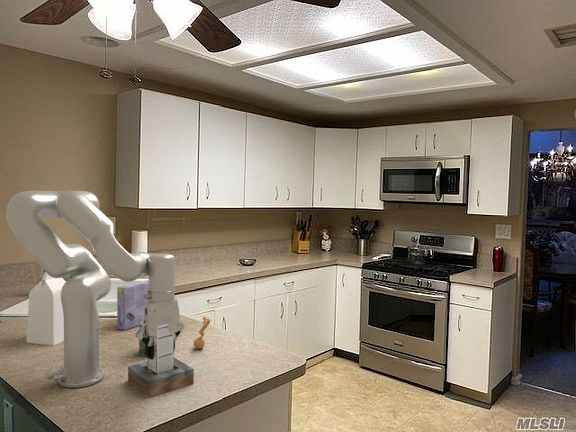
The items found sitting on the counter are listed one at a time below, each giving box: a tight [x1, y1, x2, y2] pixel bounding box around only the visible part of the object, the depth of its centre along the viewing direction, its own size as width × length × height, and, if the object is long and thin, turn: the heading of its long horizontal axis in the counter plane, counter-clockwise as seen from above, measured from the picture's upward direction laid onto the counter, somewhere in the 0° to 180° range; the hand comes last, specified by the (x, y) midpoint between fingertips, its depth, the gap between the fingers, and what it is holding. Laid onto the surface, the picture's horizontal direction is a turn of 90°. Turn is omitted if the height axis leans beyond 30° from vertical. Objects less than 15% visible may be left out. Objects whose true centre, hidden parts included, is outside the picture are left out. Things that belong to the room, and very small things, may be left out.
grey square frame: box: [127, 356, 195, 398], centre depth 132 cm, size 14×14×4 cm
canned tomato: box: [138, 321, 148, 358], centre depth 156 cm, size 8×8×11 cm
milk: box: [26, 271, 67, 346], centre depth 167 cm, size 12×12×26 cm
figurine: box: [193, 316, 211, 350], centre depth 161 cm, size 8×6×12 cm
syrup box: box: [147, 324, 174, 374], centre depth 131 cm, size 6×6×14 cm
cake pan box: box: [116, 280, 148, 331], centre depth 189 cm, size 19×5×18 cm, turn 155°
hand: (160, 355), depth 132 cm, fingers closed on syrup box, 5 cm apart
